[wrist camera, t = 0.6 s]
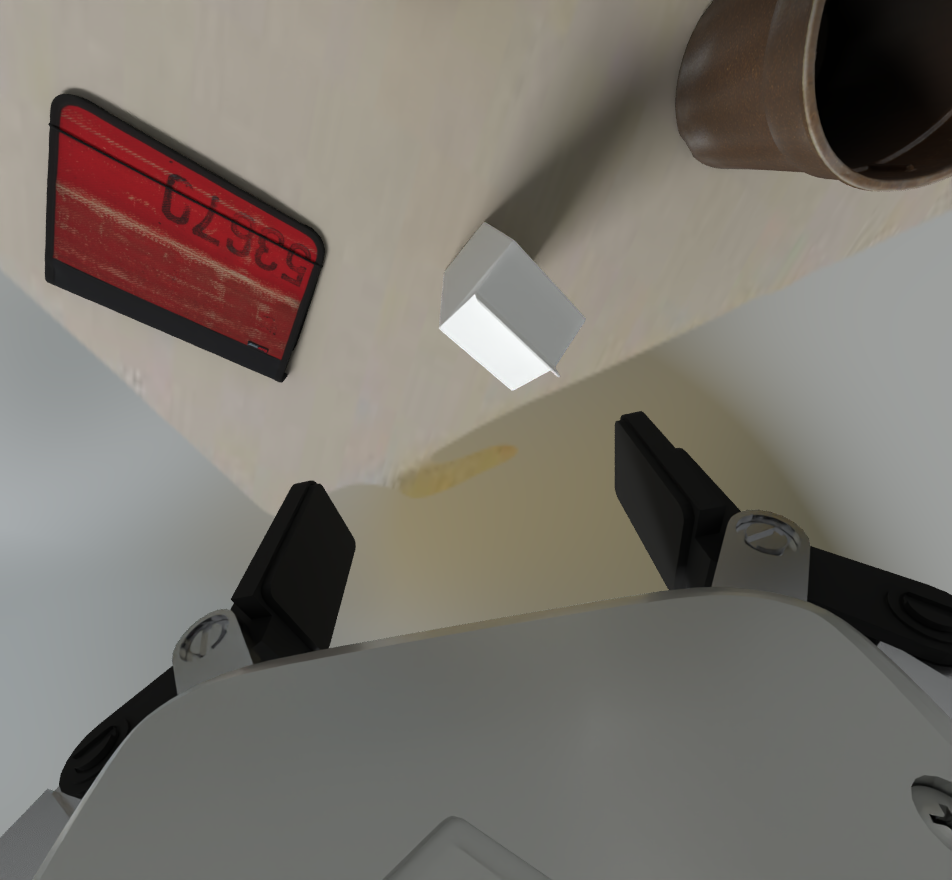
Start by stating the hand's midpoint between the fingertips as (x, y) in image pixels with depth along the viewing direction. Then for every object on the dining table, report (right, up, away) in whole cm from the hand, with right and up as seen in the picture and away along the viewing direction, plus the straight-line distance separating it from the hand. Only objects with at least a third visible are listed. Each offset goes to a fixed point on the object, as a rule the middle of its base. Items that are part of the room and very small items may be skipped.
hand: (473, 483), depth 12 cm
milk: (+1, +18, +25) cm, 31 cm away
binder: (-26, +19, +23) cm, 40 cm away
